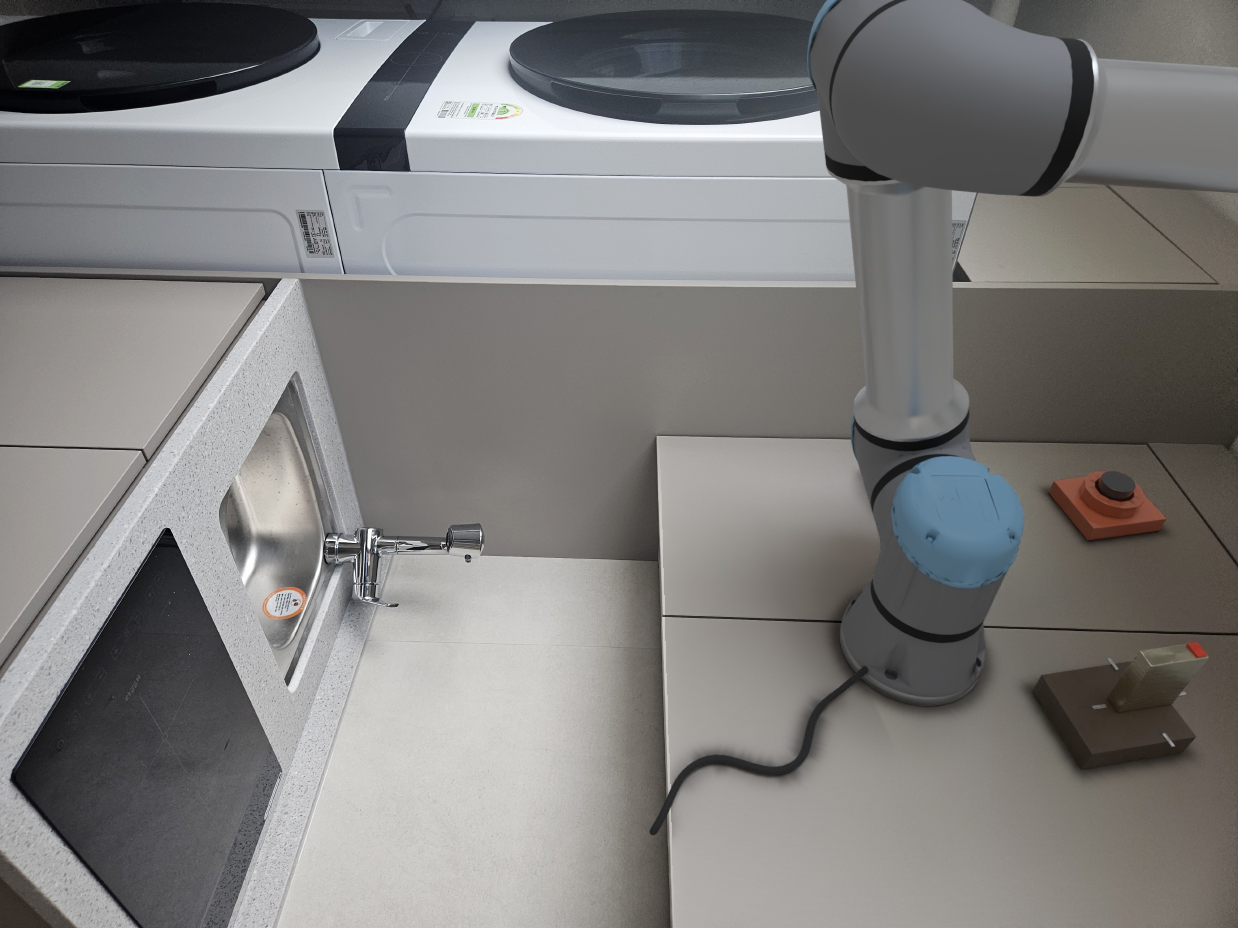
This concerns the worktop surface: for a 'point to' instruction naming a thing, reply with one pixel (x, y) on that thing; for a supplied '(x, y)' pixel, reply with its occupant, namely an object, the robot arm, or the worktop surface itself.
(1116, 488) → the button
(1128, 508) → the button box
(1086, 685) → the panel
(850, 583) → the worktop surface
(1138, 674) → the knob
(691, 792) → the worktop surface
